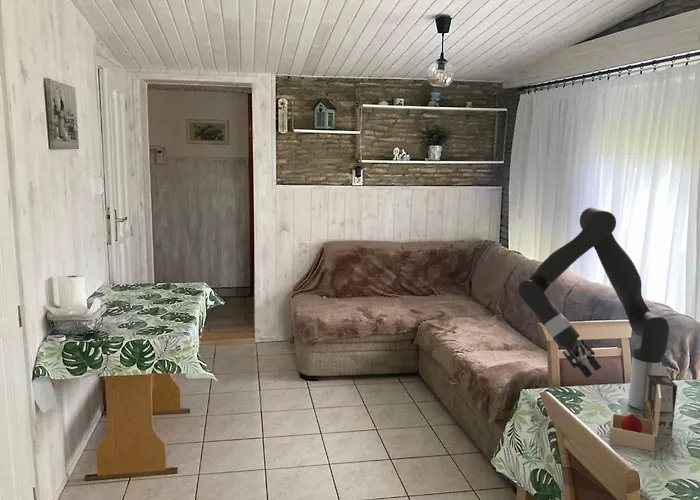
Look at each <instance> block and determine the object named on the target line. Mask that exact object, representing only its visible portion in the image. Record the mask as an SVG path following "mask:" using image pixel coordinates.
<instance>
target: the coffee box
mask: <svg viewBox="0 0 700 500" xmlns="http://www.w3.org/2000/svg"><path fill="white" fill-rule="evenodd" d="M658 384H660V392H661V405H660V415H659V424H658V434H660V435H661V434H662V435H668V436H671V435H672V434H673V429H674V428H673V426H674V418H675V417H674V416H675V407H676V403H677V402H676V401H677V400H676V399H677V394H678V393H677V391H678V385H677V384H676V383H675V382H674V381H673V380H672V379H671V378H670V377H669V376H667V375H661V376H657V375H647V385H646V395H645V407H644V410H643V418H642V419H648V420H653V421H654V415H655V405H656V396H657V386H658Z"/></svg>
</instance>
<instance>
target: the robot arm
mask: <svg viewBox="0 0 700 500" xmlns="http://www.w3.org/2000/svg"><path fill="white" fill-rule="evenodd" d="M579 225H580V227H581V231H580V232H579V234H577V235H576V236H575V237H574V238H573V239H571V240H570V241H569V242H567V243H565V244H564V245H563V246H561V247H559V248H557V249H556V250H555V251H553V252H552V253H551V254H549V256H548V257H547V258H546V259H544V261H543V262H542V263H540V265H538V267H537V269H536V271H535V272H534V273H533V274H532V275H531V276H530V277H529V278H528V279H525V280H524V279H523V281H521V282H520V283H519V284H518V286H517V293H518V296H519V297H520V298H521V300H522V301H523V302H524V303H525V304H526V305H527V307H529V308H530V310H531V312H533V314H534V316H535V317H536V318H537V319H538V321H539V322H540V323H541V325H543V327H544V329H545V330H546V332H547V333H548V334H549V336H550V337H551V339H552V340H553V341H554V342H555V344H556V345H557V346H558V348H560V349H564V348H565V350H564V351H562V354H563V355H564V357H565V358H566V360H567V361H568V362H569V363H570V365H571V366H572V368H574V369H576V368H577V369H579V370H580V372H581V373H582V374H583V375H584V377H585V378H587V379H588V378H590V377H591V376H592V375H593V373H592V371H591V370H590V369H589V367H588V366H587V365H586V364H585V361H588V363H589V364H590V366H591V367H592V368H593V369H594V371H598V370H600V369H601V368H602V365H601V364H600V363H599V362H598V361H597V359H596V358H595V354H596V353H595V351H594V350H593V349H592V348H591V347H590V345H589V344H588V343H587V342H586V340H584V339H581V340H578V339H579V337H580V336H581V335H580V334H579V332H578V331H577V330H576V329H575V328H574V326H573V325H572V323H570V321H569V320H568V318H566V316H564V314H562V312H561V311H560V310H559V309H558V308H557V306H555V304H554V302H552V301H551V300H550V298H548V296H547V295H546V294H545V292H546V291H547V290H548V289H549V288H550V286H551V285H552V284H553V283H554V282H555V281H556V280H557V279H558V278H559V277H560V276H561V275H563V274H564V273H565V271H566V270H567V269H568V268H570V267H571V265H573V264H574V263H575V262H576V261H577V260H578V259H579V258H581V257H582V256H583V255H584V254H586V253H587V252H588V251H589V250H591V249H593V248H594V250H595V252H596V253H597V257H598V259H599V262H600V263H601V266H602V268H603V270H604V272H605V274H606V277H607V278H608V281H609V283H610V285H611V286H612V288H613V290H614V291H615V293H616V295H617V297H618V299H619V301H620V303H621V305H622V307H623V309H624V312H625V314H626V318H627V320H628V323H629V326H630V329H632V331H633V332H634V333H635V335H637V336H638V337H640V338H641V342H640V346H637V347H634V348H633V351H632V358H631V369H630V379H629V390H628V401H627V404H628V406H630V407H632V408H634V409H636V410H640V411H644V407H645V395H646V385H647V375H657V376H662V366H663V358H664V356H665V354H666V351H667V348H668V341H669V336H670V325H669V322H668V320H667V319H666V318H665V317H663V316H661V315H659V314H656V313H654V312H653V311H651V310H650V308H649V307H648V305H647V304H646V302H645V300H644V298H643V294H642V278H641V275H640V273H639V271H638V270H637V268H636V267H637V266H636V265H635V264H634V261H633V260H632V258H631V257H630V256H629V255H628V254H627V252H626V251H625V250H624V248H622V246H621V245H620V244H619V242H618V241H617V240H616V239H615V236H614V234H613V232H614V230H615V229H616V226H617V219H616V217H615V215H614V214H613V213H611V212H610V211H608V210H606V209H602V208H600V207H595V206H591V207H587V208H585V209H584V210H583V211H582V212H581V214H580V217H579ZM584 359H585V361H584Z"/></svg>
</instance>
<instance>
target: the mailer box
mask: <svg viewBox="0 0 700 500" xmlns="http://www.w3.org/2000/svg"><path fill="white" fill-rule="evenodd" d="M660 405H661V392H660V384H658V386H657V396H656V405H655V415H654V421H653V420H648V419H643V418H641V417H638V418H639V420H640V421H641V424H642V431H641V433H638V432H633V431H628V430H623V429H622V427H621V422H622V420H623V418H624V417H626V416H627V415H624V414H620V413H616V412H615V413H614V412H611V419H610V431H609V443H612V444H613V443H614V444H618V445H624V446H628V447H633V448H638V449H643V450H647V451H651V452H653V451H655V444H656V438H657V437H658V434H659V433H658V424H659V415H660Z"/></svg>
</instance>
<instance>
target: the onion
mask: <svg viewBox="0 0 700 500" xmlns="http://www.w3.org/2000/svg"><path fill="white" fill-rule="evenodd" d="M639 418H640V417H637V415H635V413H634V412H632V411H631V412H629V414H627V415H626V417H624V418H623V420H622V422H621V427H622V429H623V430H628V431H633V432H638V433H641V431H642V424H641V421H640V420H639Z"/></svg>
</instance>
